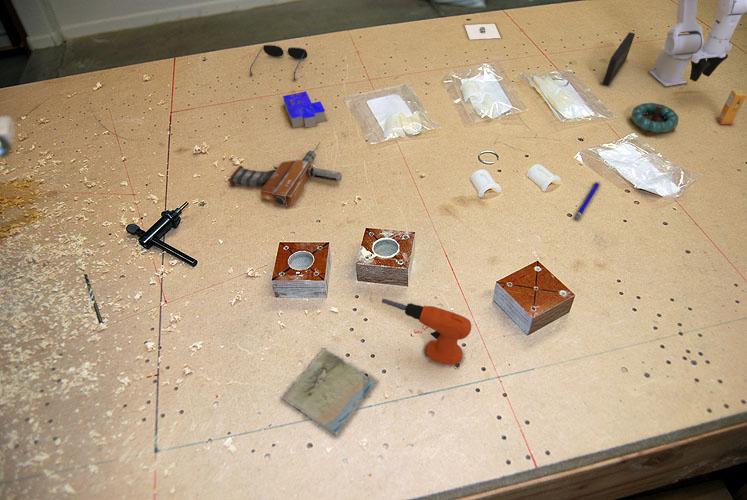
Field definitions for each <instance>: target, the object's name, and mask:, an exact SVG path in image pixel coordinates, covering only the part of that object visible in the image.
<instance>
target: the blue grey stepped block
mask: <svg viewBox="0 0 747 500" xmlns="http://www.w3.org/2000/svg"><path fill="white" fill-rule="evenodd" d="M282 100H283V104H284V108H285V110H286V112H287V115H288V117H289V120H290V123H291V126H292V128H293V129H294V128H298V127H303V126H304V128H311V127H315V126H316V123H320V122H325V121H326V113H325V112H326V109H325V108H324V105H323V104H322V101H321V100H320V101H315V102H312V101H311V98H310V96H309V95H308V92H307V90H306V91H300V92H296V93H291V94H286V95H282Z"/></svg>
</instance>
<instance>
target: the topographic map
mask: <svg viewBox="0 0 747 500" xmlns="http://www.w3.org/2000/svg"><path fill="white" fill-rule="evenodd" d="M375 384H377V382H376V381H375V380H373V379H372V378H371V377H369V376H368V375H366V374H364V373H363V372H362V371H361V370H359V369H358V368H356V367H355V366H353V365H351V364H350V363H349V362H347V361H346V360H345V359H344V358H342V357H340V356H339V355H337V354H335V353H334V352H332V351H330V350H329V349H327V348H326V347H324V348H323V349H322V351H321V352H320V353H319V354H318V355H317V357H316V358H315V359H314V360H313V361H312V362H311V364H310V365H309V367H308V368H306V370H305V371H304V372H303V373H302V374H301V376H300V377H299V378H298V379H297V381H296V382H295V384H293V386H292V387H291V389H290V390H289V391H288V392H287V393H286V395H285V396H284V397H283V398H282V399H283V401H285V402H287V403H288V404H289V405H291V406H292V407H294V408H296V409H297V410H300V411H301V413H303V414H304V415H306V416H307V417H308V418H310V419H311V420H313V421H314V422H315V423H316V424H319V425H320V426H321V427H323V428H324V429H325V430H327V431H328V432H330V433H331V434H333V435H335V436H337V435H338V433H339V432H340V431H341V430H342V428H343V427H344V425H345V424H346V423H347V422H348V420H349V419H350V417H352V415H353V414H354V412H355V411H356V410H357V409H358V407H359V406H360V405H361V404H362V402H363V400H364V399H365V398H366V397H367V396H368V394H369V393H370V392H371V390H372V389H373V387H374V386H375Z"/></svg>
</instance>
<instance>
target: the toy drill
mask: <svg viewBox="0 0 747 500" xmlns="http://www.w3.org/2000/svg"><path fill="white" fill-rule="evenodd" d="M381 302H382V303H383V304H386V305H387V306H390V307H394V308H396V309H398V310H401V311H404V314H405V315H406V316H409V317H411V318H413V319H415V320H418V322H419V323H420V324H422V325H424V326H425V327H427V328H430V329H432V330H434V331H432V332H430V335H431V336H432V337H433V338H434V339H432V340H430V341H429V342H428V343H427V344H426V348H425V355H426V356H427V357H428V359H430V361H433V362H436V363H439V364H443V365H449V366H450V365H458V364H460V363H461V361H462V360H463V350H462V347H461V346H460V345H458V341H460V340H464V339H466V338H467V337H468V336H470V334H471V331H472V322H471V320H470V319H469V318H467V317H465V316H463V315H461V314H458V313H455V312H453V311H451V310H446V309H443V308H440V307H436V306H433V305H423V306H422V305H419V304H414V303H412V302H411V303H407V304H404V303H399V302H397V301H393V300H389V299H388V298H387V299H386V298H382V299H381Z"/></svg>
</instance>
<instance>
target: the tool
mask: <svg viewBox="0 0 747 500" xmlns="http://www.w3.org/2000/svg"><path fill="white" fill-rule="evenodd" d="M320 144H321V142H319V143H318V144H317V146H316V147H315V148H314V150H308V151H307V152H306V154H305V156H304V157H303V158H302V160H301V159H295V160H289V161H282V162H281V163H280V164H279V166H278V167H276V166H275V164H273V169H272V170H265V171H264V170H252V169H248V168H244V167H243V166H242V165H239V166H238V167H237V168H236V169H235V170H234V172H233V173H232V174H231V175H230V177H229V178H228V183H229V185H230V187H234V186H235V185H237V186H244V187H249V188H257V187H258V188H259V187H262V188H261V190H260V196H261V199H262V200H264V201H269V202H273V203H274V204H275V205H277V206H282V207H289V206H294V204H295V203H296V201H297V200H298V199H299V197H300V195H301V194H302V193H303V191H304V190H305V186H304V185H305V184H306V182H307V181H308V180H309V178H312V177H313V178H316V179H320V180H326V181H330V182H331V181H332V182H338V183H339V182H340V181H342V178H343V175H342V173H341V172H339V171H335V170H334V171H333V170H329V169H322V168H317V167H315V168H314V167H313V166H312V163H313V162H314V160H315V158H316V157H317V154H316V152H315V151H316V150H317V149H318V148H319V145H320Z"/></svg>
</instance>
